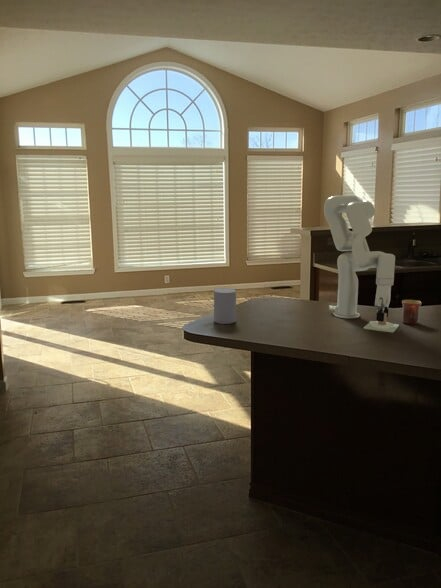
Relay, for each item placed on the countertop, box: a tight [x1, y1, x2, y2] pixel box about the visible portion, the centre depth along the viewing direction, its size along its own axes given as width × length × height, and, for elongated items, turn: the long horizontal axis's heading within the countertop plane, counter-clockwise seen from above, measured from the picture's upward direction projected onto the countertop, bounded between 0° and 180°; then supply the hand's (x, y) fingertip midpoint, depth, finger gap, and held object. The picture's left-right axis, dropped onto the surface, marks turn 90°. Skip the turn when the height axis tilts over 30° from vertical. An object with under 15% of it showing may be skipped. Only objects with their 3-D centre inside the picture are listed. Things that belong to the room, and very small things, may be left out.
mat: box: [363, 320, 400, 334], centre depth 239 cm, size 13×13×1 cm
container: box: [213, 287, 237, 325], centre depth 246 cm, size 10×10×15 cm
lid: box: [370, 313, 394, 329], centre depth 238 cm, size 10×10×6 cm
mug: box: [401, 299, 422, 325], centre depth 244 cm, size 12×9×10 cm
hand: (382, 318), depth 238 cm, fingers open, 8 cm apart
